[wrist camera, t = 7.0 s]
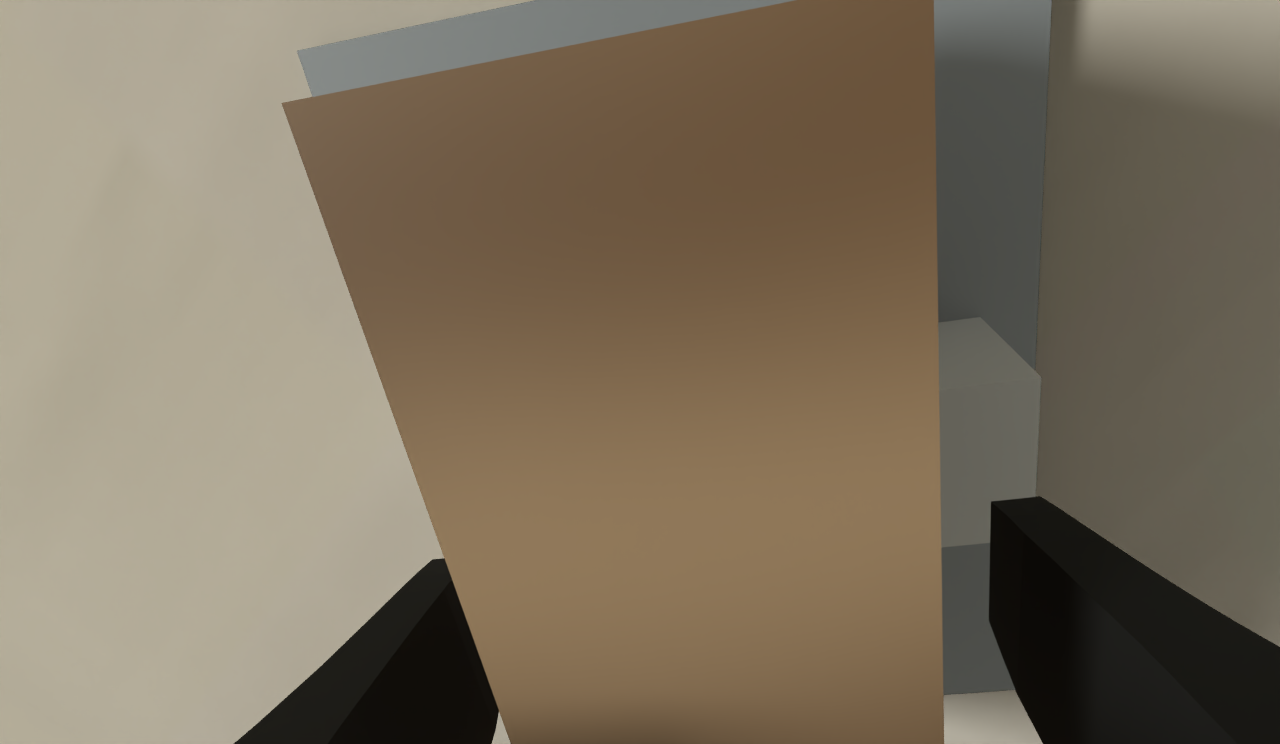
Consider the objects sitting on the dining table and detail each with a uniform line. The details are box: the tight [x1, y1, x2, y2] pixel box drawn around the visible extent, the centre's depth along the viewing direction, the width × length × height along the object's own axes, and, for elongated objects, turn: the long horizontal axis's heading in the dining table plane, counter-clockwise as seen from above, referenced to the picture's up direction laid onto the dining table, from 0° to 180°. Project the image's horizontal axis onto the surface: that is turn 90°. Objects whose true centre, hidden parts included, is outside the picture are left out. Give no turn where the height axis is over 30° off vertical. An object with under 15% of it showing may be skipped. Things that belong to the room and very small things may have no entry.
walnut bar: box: [282, 0, 944, 744], centre depth 9 cm, size 14×4×6 cm, turn 10°
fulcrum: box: [297, 0, 1052, 695], centre depth 14 cm, size 16×12×3 cm
